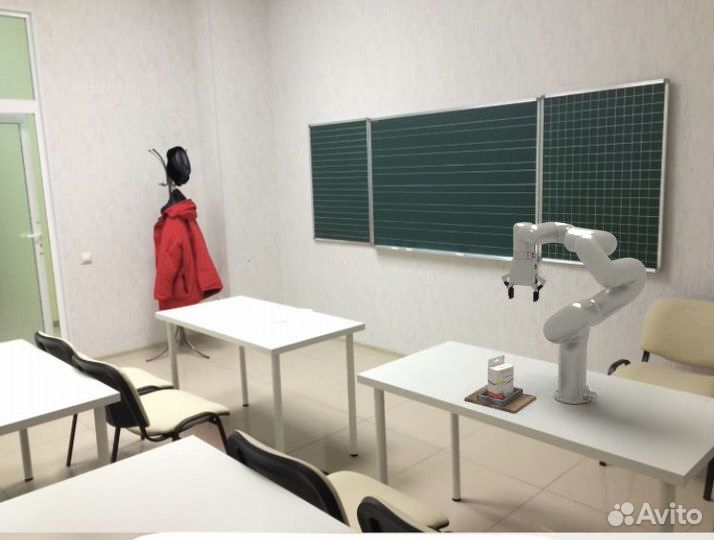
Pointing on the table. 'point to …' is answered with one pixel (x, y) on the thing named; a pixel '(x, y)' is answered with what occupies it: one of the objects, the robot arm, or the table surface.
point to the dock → (507, 404)
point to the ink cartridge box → (500, 378)
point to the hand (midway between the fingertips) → (523, 299)
